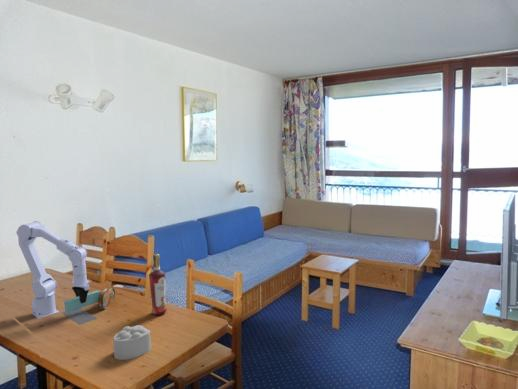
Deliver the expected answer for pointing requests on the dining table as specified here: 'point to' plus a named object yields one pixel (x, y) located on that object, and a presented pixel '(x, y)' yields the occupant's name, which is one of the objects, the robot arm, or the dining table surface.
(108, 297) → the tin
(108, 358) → the dining table surface
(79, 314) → the tool mat
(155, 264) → the liquor
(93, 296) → the teal rectangular block
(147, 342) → the lumpy-topped squat cylinder
